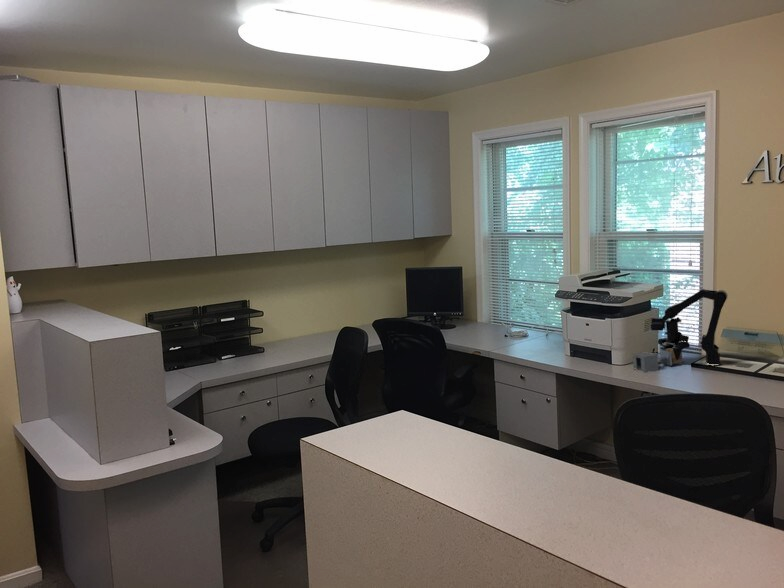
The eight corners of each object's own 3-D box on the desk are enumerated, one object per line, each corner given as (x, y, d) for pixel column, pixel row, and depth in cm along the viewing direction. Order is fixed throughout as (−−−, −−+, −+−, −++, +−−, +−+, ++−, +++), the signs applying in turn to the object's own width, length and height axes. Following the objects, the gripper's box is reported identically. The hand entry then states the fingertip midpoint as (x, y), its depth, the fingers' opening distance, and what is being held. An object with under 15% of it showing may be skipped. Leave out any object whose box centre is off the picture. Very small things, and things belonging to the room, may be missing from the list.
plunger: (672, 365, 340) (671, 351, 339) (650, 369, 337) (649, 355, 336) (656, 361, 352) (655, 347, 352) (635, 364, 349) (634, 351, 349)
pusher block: (682, 361, 343) (681, 348, 342) (672, 363, 341) (671, 350, 341) (676, 360, 348) (675, 347, 347) (666, 361, 346) (665, 349, 346)
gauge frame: (675, 367, 339) (673, 351, 338) (645, 372, 335) (643, 357, 334) (658, 362, 352) (657, 348, 351) (629, 367, 348) (628, 353, 347)
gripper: (697, 330, 336) (699, 359, 337) (674, 326, 354) (676, 353, 355) (678, 333, 333) (680, 362, 335) (656, 328, 351) (658, 356, 353)
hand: (674, 358), depth 344 cm, fingers closed on pusher block, 5 cm apart
